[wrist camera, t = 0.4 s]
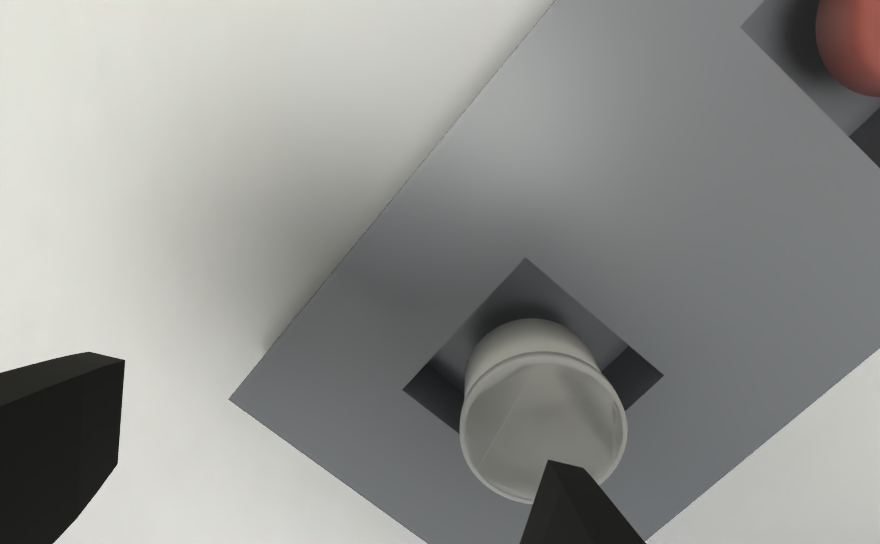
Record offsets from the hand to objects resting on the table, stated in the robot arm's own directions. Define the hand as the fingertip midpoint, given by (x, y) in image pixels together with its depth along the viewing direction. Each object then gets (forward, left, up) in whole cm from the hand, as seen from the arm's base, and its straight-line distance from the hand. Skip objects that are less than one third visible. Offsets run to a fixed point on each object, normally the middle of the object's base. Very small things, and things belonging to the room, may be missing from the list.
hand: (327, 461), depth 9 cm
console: (-4, -8, -9) cm, 12 cm away
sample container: (-4, -2, -6) cm, 7 cm away
